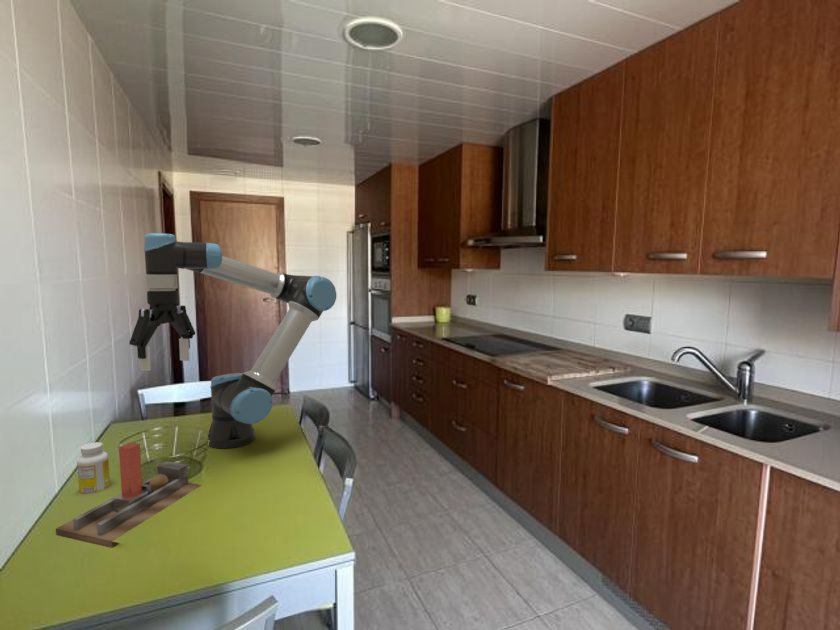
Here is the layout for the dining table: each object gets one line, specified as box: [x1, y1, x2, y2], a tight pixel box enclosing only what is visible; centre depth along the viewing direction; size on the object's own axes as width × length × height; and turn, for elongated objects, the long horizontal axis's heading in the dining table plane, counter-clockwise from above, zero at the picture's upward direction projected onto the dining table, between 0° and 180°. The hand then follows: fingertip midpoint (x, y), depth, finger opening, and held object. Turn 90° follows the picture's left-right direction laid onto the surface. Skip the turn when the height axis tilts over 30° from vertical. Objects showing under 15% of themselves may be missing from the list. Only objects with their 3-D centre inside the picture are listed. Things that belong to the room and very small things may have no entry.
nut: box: [149, 474, 169, 492], centre depth 117 cm, size 4×4×4 cm
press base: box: [55, 461, 202, 549], centre depth 110 cm, size 26×16×6 cm, turn 164°
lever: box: [112, 442, 151, 511], centre depth 109 cm, size 6×5×15 cm
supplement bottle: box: [76, 441, 111, 494], centre depth 118 cm, size 7×7×13 cm
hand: (166, 365), depth 127 cm, fingers open, 13 cm apart
